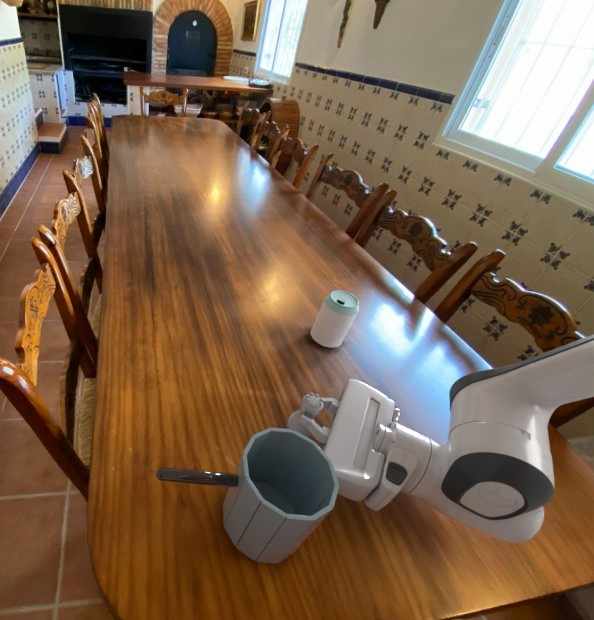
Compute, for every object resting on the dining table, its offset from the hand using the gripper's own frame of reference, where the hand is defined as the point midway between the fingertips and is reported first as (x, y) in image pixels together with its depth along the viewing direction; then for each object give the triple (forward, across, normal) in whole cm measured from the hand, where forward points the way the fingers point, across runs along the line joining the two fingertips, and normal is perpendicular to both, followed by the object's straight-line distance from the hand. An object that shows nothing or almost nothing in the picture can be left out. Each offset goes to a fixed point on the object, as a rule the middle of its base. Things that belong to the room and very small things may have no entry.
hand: (303, 407), depth 59 cm
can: (+1, -28, +8) cm, 29 cm away
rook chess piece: (-1, 0, +5) cm, 5 cm away
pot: (+4, +19, +7) cm, 21 cm away
